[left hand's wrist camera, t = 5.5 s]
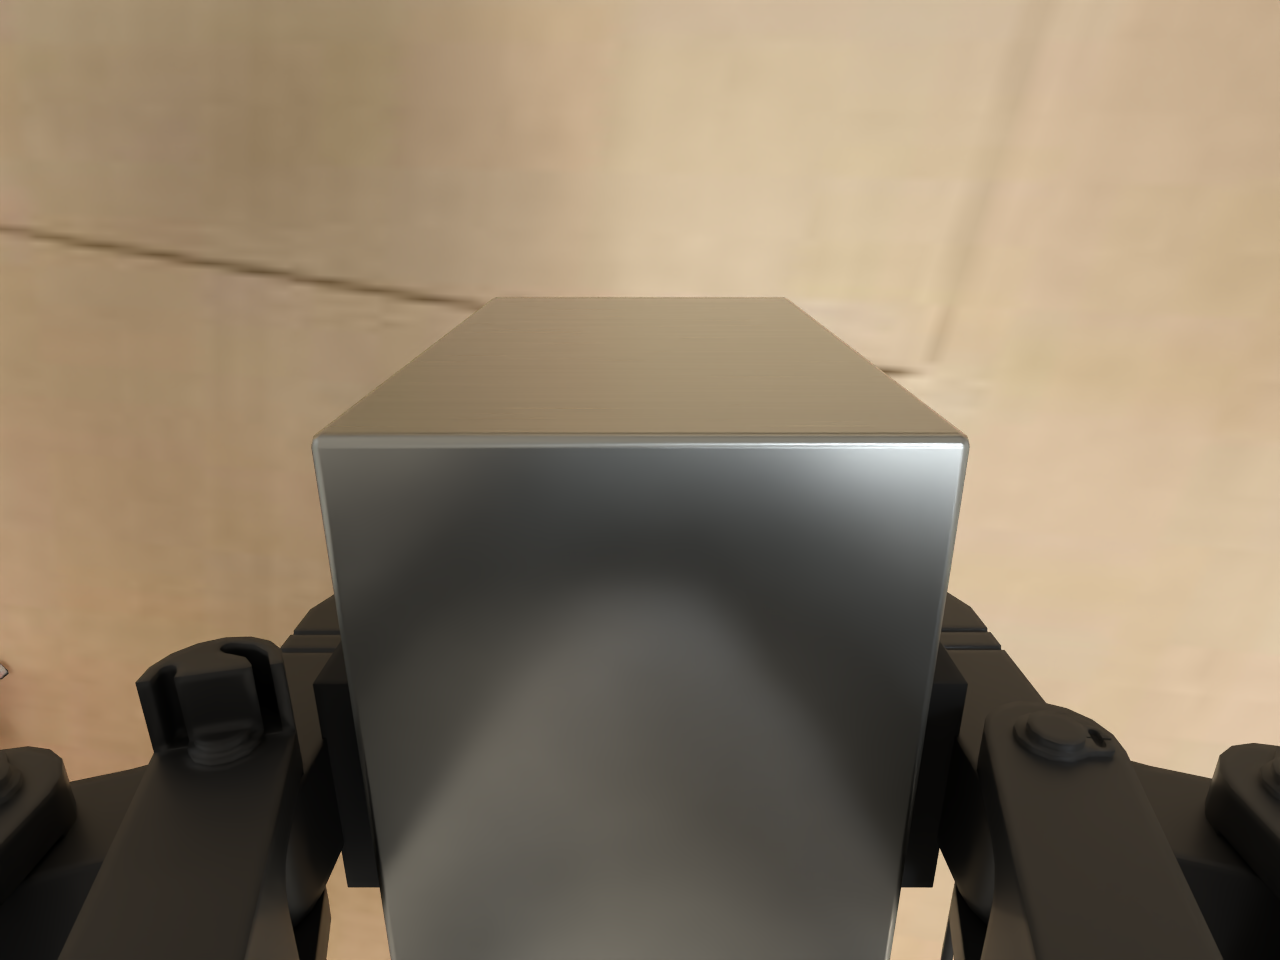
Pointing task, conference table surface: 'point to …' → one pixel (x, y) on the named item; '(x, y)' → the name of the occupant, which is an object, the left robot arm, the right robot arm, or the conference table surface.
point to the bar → (640, 630)
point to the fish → (3, 671)
